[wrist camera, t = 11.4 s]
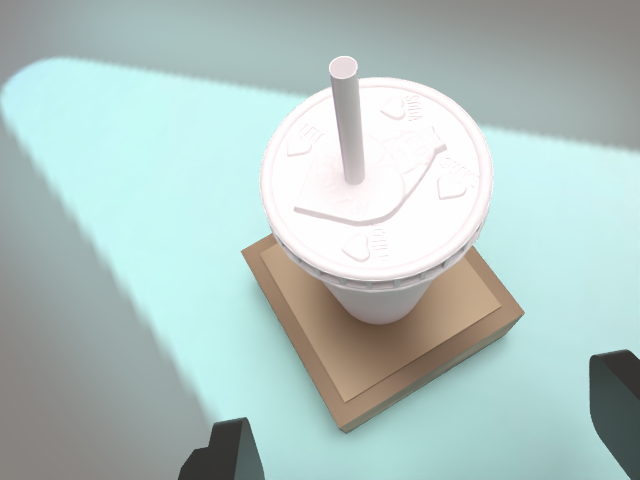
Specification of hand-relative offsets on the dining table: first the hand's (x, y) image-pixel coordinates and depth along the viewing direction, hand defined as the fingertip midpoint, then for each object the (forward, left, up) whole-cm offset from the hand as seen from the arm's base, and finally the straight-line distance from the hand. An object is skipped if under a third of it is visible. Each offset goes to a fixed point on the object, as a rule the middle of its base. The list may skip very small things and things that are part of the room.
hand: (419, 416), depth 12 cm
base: (-2, -6, -13) cm, 15 cm away
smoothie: (-2, -6, -9) cm, 11 cm away
